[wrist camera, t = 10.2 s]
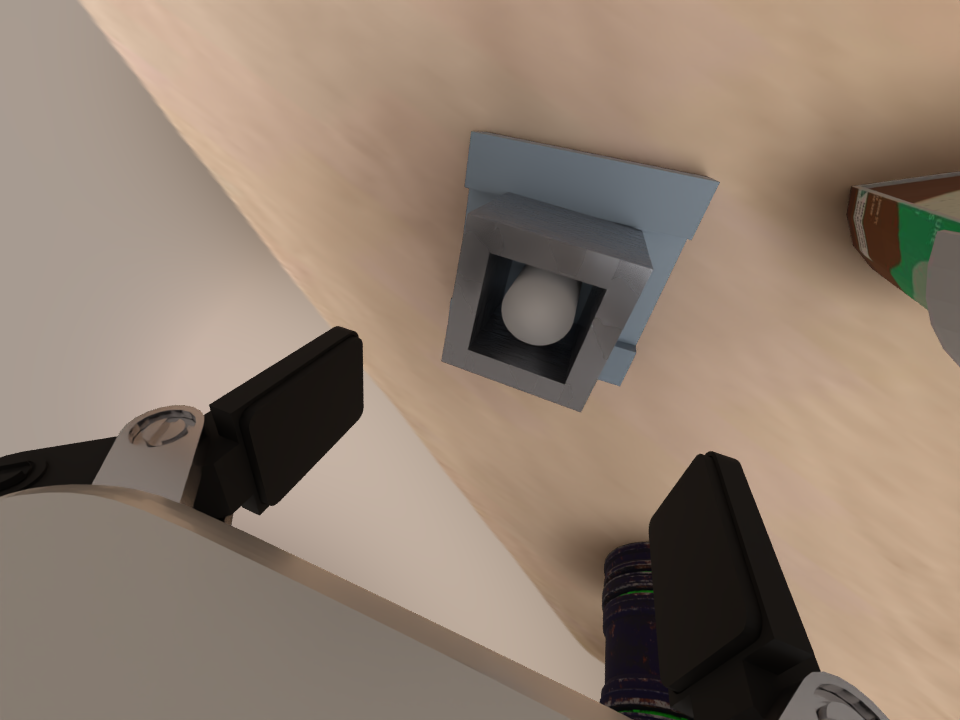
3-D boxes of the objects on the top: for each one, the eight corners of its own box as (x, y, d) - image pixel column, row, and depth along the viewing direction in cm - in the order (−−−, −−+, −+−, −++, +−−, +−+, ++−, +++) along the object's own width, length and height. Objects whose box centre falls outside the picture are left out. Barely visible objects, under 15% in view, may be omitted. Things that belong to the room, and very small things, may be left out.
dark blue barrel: (628, 525, 30) (637, 786, 18) (752, 572, 29) (853, 892, 17) (588, 580, 36) (574, 806, 24) (689, 621, 34) (730, 886, 22)
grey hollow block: (588, 346, 20) (580, 412, 16) (480, 309, 21) (441, 361, 17) (642, 230, 17) (653, 269, 12) (508, 191, 18) (467, 213, 13)
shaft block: (619, 365, 23) (621, 448, 17) (459, 318, 25) (409, 377, 19) (707, 177, 17) (760, 200, 11) (485, 131, 19) (423, 130, 13)
